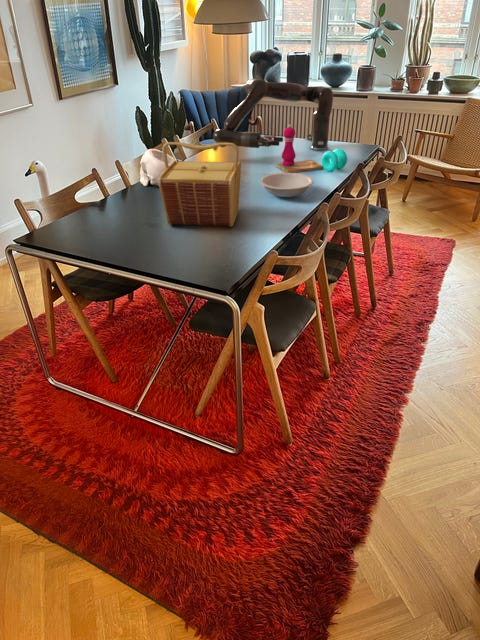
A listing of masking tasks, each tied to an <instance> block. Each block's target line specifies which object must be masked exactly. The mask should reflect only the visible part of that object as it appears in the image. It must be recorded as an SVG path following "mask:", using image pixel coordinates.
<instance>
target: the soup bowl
mask: <svg viewBox="0 0 480 640" xmlns="http://www.w3.org/2000/svg"><path fill="white" fill-rule="evenodd" d="M314 183H315V182H314V179H313V178H312V177H311V176H309V175H306V174H303V173H299V172H297V173H286V172H275V173H270V174H266V175H264V176H262V177H260V178H259V184H260V185H261V186H263V187H264V189H265V190H266V191H267V192H268V193H269V194H270V195H273V196H275V197H279V198H293V197H297V196H300V195H302V194H304V193H305V192H306V191H307V190H308V188H309V187H311V186H312V185H313V184H314Z"/></svg>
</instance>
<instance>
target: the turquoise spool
mask: <svg viewBox="0 0 480 640" xmlns="http://www.w3.org/2000/svg"><path fill="white" fill-rule="evenodd" d="M347 163H348V155H347V153H346V151H345V150H344V149H342V148H336V149H334V150H333V151H331V150H329V151H325V152H324V153H323V155H322V156H321V166H323V170H325V171H327V172H330V173H331V172H335V171H336V170H341V169H344V168H345V166H346V165H347Z"/></svg>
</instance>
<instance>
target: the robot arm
mask: <svg viewBox="0 0 480 640" xmlns="http://www.w3.org/2000/svg"><path fill="white" fill-rule="evenodd" d="M244 89H245V93H246V94H247V96H246V97H245V99H243V101H242V102H241V103H240V104H238V105H237V107H235V108H234V109H233V110H232V111H231V112H230V114H229V115H228V117H226V119H225V121H224V123H223V128H221V129H220V128H219V129H216V130H214V132H213V134H212V139H213V142H215V144H216V143H233V144H235V145H236V146H237V147H241V148H251V149H259V148H260V147H267V148H269V147H273V146H274V147H275V146H276V147H278V146H280V143H283V142H284V137H283V136H277V135H269V134H268V135H267V134H265V135H263V136H262V134H261V133H260V132H254V131H253V132H252V131H244V132H243V131H237V129H238V127H239V126H240V125H241V123H242V122H243V121H244V119H245V118H246V117H247V115H249V114H250V112H251V111H252V110H253V108H255V106H257V104H258V103H259V102H260V101H261V100H262V99H264V98H269V99H273V100H278V101H283V102H291V103H296V102H310V103H313V104H317V110H316V111H314V112H313V117H312V118H313V120H312V135H311V134H310V133H309V134H307V135H306V137H305V138H306V140H308V141H311V150H314V151H325V150H327V149H328V145H329V133H330V116H331V114H332V110H333V102H334V92H333V90H332V88H330V87H326V86H320V85H319V86H307V85H303V84H299V83H294V82H289V81H288V82H284V81H282V82H281V81H280V82H279V81H275V82H274V81H273V82H271V81H265V79H264V80H263V79H261V78H251V79H250V80H248V81H247V83H246V84H245V88H244ZM218 147H219V148H225V147H226V146H218Z"/></svg>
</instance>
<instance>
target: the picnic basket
mask: <svg viewBox="0 0 480 640" xmlns="http://www.w3.org/2000/svg"><path fill="white" fill-rule="evenodd" d="M168 146H181V147H182V148H184V149H188V150H193V151H207V150H213V149H215V148H218V147H219V146H225V147H228V146H230V147H233V148H234V161H190V160H189V161H188V160H187V161H184V160H183V161H181V160H180V161H179V160H178V161H177V160H176V161H173V162H172V163H171V164H170V165H169V166H168V160H167V155H166V154H167V147H168ZM161 151H162V152H163V157H164V162H165V168H166V169H165V170H164V172H163V173H162V174H161V175H160V176H159V180H158V183H159V186H158V187H159V192H160V197H161V201H162V205H163V210H164V213H165V218H166V223H167V224H168V225H169V226H173V225H190V226H218V227H219V226H220V227H230V228H232V227H233V225H234V223H235V221H236V218H237V216H238V213H239V207H240V206H239V205H240V189H241V176H242V175H241V173H242V163H241V161H239V154H240V149H239V146H236V145H235V144H233V143H216V142H215V143H211V144H206V145H196V144H190V143H185V142H180V141H179V142H178V141H177V142H176V141H168V142H165V143H163V145H162V148H161Z"/></svg>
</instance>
